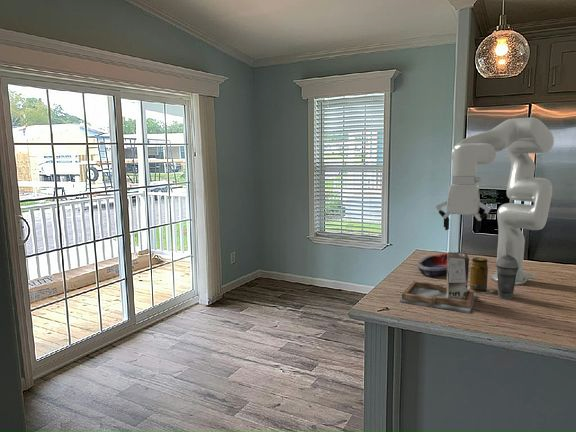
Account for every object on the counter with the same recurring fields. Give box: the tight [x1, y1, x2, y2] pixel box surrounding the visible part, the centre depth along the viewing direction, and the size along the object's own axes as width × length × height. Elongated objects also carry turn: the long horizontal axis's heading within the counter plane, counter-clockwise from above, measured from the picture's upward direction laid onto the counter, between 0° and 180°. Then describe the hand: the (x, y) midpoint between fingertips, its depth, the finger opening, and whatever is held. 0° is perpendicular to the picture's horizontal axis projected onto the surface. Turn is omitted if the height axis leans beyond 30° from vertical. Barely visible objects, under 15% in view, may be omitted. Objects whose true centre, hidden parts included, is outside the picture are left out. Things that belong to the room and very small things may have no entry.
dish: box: [417, 252, 448, 277], centre depth 193 cm, size 16×31×5 cm, turn 141°
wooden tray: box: [399, 280, 477, 314], centre depth 155 cm, size 23×19×3 cm
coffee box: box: [445, 251, 470, 301], centre depth 151 cm, size 9×6×16 cm
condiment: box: [467, 257, 495, 295], centre depth 164 cm, size 7×8×12 cm
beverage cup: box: [495, 243, 519, 300], centre depth 155 cm, size 7×7×20 cm
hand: (461, 230), depth 148 cm, fingers open, 9 cm apart
